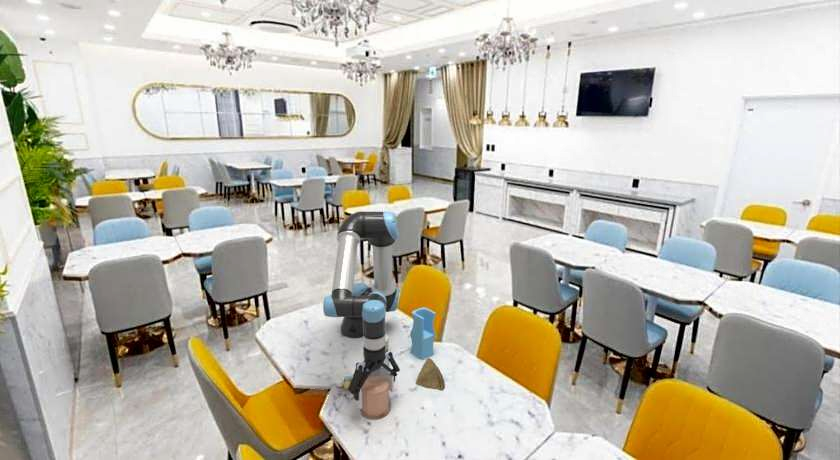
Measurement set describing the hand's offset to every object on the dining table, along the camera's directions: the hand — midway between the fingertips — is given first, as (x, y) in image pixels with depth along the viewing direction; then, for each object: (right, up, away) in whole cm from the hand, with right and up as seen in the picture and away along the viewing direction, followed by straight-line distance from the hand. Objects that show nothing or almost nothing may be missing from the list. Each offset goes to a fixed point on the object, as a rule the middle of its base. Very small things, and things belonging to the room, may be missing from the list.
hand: (375, 398), depth 141 cm
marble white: (-15, -1, +13) cm, 20 cm away
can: (-2, +3, +29) cm, 29 cm away
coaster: (0, -4, +1) cm, 4 cm away
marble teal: (-13, 0, +15) cm, 19 cm away
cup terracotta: (0, -4, +1) cm, 4 cm away
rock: (+20, -1, +14) cm, 25 cm away
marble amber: (-12, -1, +12) cm, 17 cm away
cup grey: (-1, 0, +16) cm, 16 cm away
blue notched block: (+17, +5, +36) cm, 40 cm away
